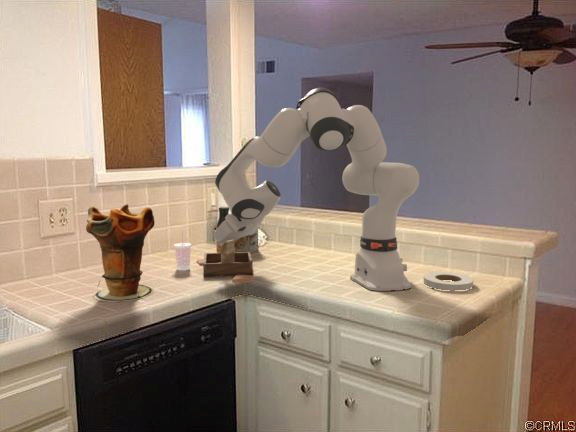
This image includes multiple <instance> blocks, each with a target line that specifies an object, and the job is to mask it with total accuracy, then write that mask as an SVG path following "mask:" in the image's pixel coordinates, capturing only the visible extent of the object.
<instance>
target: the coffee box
mask: <svg viewBox="0 0 576 432" xmlns="http://www.w3.org/2000/svg"><path fill="white" fill-rule="evenodd" d="M257 250H258V251H259V228H258V229H257V230H256V231H255V232H254V233H253V234H251V235H248V236H244V237H241V238H240V239H238V240H237V241H236V242H235V251H236V252H250V254H251V253H253V252H257Z"/></svg>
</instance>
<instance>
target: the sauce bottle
mask: <svg viewBox="0 0 576 432" xmlns="http://www.w3.org/2000/svg"><path fill="white" fill-rule="evenodd" d="M229 212H230V209H229V208H228V206H219V207H218V213H219V216H218V219H217V223H216V226H215V231H216V230H217V228H218V227H219V226H220V225H221V223H222V222H223V221H225V220H226V219H225V217H226V216H227V215H228V214H230V213H229ZM215 243H216V245H215V247H216V253H221V247H220V245H219V244H218V242H217V240H216V239H215Z"/></svg>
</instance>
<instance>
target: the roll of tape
mask: <svg viewBox="0 0 576 432" xmlns="http://www.w3.org/2000/svg"><path fill="white" fill-rule="evenodd" d="M443 280H452V281H454V282H450V281H443ZM423 282H424V284H425V285H427V286H429V287H432V288H436V289H441V290H450V291H455V290H466V289H470V288H471V287H473V288H474V278H472V277H471V276H469V275H467V274H463V273H459V272H453V271H431V272H428V273H425V274H424V275H423ZM424 284H423V285H424ZM425 285H424V286H425Z"/></svg>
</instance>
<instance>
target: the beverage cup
mask: <svg viewBox="0 0 576 432" xmlns="http://www.w3.org/2000/svg"><path fill="white" fill-rule="evenodd" d="M191 247H192V244H191V243H190V242H184V231H183V230H181V242H179V243H174V244H173V248H174V252H175V263H176V264H175V265H176V270H178V271H188V270H190V269H191Z"/></svg>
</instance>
